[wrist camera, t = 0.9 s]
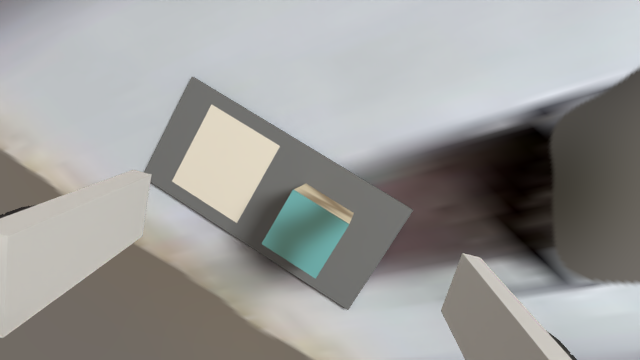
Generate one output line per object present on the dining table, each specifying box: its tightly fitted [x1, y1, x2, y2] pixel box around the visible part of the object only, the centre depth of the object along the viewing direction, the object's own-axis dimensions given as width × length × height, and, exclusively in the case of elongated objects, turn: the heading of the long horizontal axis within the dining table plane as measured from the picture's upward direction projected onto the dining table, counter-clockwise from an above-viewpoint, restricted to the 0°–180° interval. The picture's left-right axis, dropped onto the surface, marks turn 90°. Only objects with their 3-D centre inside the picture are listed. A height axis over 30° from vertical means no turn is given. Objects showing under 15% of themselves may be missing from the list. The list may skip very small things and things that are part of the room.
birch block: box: [262, 184, 354, 279], centre depth 36 cm, size 6×6×6 cm
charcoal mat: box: [144, 77, 413, 310], centre depth 40 cm, size 28×13×1 cm, turn 59°
